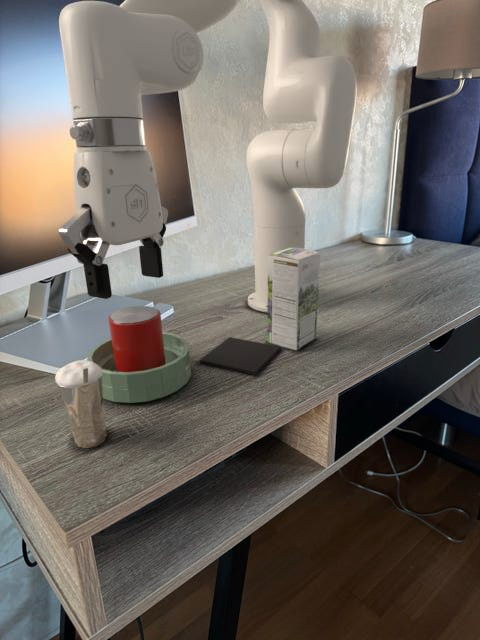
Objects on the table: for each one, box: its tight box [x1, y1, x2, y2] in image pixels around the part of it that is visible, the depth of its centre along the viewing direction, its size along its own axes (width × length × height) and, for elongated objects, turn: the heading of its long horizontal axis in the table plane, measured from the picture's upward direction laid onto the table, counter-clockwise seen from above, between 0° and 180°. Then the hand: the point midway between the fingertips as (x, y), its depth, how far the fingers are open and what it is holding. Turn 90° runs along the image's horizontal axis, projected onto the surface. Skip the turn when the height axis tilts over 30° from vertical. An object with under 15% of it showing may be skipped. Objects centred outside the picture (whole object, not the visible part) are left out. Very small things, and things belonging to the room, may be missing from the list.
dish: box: [86, 330, 192, 404], centre depth 60 cm, size 13×13×4 cm
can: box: [107, 305, 166, 372], centre depth 59 cm, size 7×7×9 cm
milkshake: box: [54, 359, 107, 449], centre depth 47 cm, size 4×5×10 cm
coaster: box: [199, 337, 282, 376], centre depth 67 cm, size 9×9×1 cm
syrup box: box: [266, 248, 321, 351], centre depth 68 cm, size 6×6×14 cm
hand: (128, 285), depth 56 cm, fingers open, 9 cm apart
